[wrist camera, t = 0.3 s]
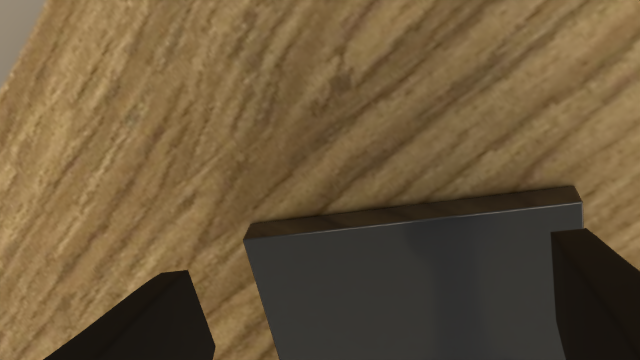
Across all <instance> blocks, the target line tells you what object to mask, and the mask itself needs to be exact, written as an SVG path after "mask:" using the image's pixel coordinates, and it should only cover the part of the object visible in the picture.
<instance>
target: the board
mask: <svg viewBox="0 0 640 360" xmlns="http://www.w3.org/2000/svg"><path fill="white" fill-rule="evenodd" d="M583 228H584V222H583V202H582V200H581V198H580V196H579V194H578V192H577V190H576V188H575V187H574V186H570V187H561V188H553V189H544V190H536V191H527V192H519V193H510V194H502V195H493V196H485V197H476V198H468V199H459V200H451V201H442V202H434V203H425V204H417V205H408V206H400V207H391V208H383V209H374V210H366V211H357V212H349V213H340V214H332V215H323V216H315V217H306V218H298V219H289V220H281V221H273V222H264V223H256V224H250V226H249V228H248V230H247V232H246V234H245V236H244V238H243V242H244V246H245V249H246V252H247V255H248V259H249V262H250V265H251V268H252V271H253V275H254V278H255V281H256V284H257V288H258V291H259V294H260V297H261V301H262V304H263V307H264V310H265V314H266V317H267V320H268V323H269V327H270V330H271V333H272V336H273V340H274V343H275V346H276V349H277V352H278V356H279V359H280V360H566V358H565V354H564V351H563V347H562V343H561V339H560V335H559V331H558V327H557V323H556V313H555V297H554V281H553V265H552V249H551V233H550V232H554V231H564V230H573V229H583Z"/></svg>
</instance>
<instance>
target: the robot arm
mask: <svg viewBox="0 0 640 360" xmlns="http://www.w3.org/2000/svg"><path fill="white" fill-rule="evenodd" d="M550 233H551V249H552V265H553V281H554V297H555V313H556V323H557V327H558V331H559V335H560V339H561V343H562V347H563V351H564V354H565V358H566V360H640V271H639V270H637V269H636V268H635V267H633V266H632V265H631V264H630V263H628V262H627V261H626V260H625V259H623V258H622V257H621V256H620V255H619V254H617V253H616V252H615V251H614V250H612V249H611V248H610V247H609V246H608V245H606V244H605V243H604V242H603V241H602V240H600V239H599V238H598V237H597V236H595V235H594V234H593V233H592V232H590V231H589V230H588V229H586V228H583V229H573V230H564V231H554V232H550ZM215 347H216V346H215V343H214V341H213V338H212V335H211V332H210V330H209V327H208V324H207V321H206V319H205V316H204V313H203V310H202V308H201V305H200V302H199V299H198V297H197V294H196V291H195V288H194V286H193V283H192V280H191V277H190V275H189V272H188V270H184V271H174V272H165V273H160V274H159V275H157V276H156V277H154V278H152V279H151V280H149V281H148V282H146V283H145V284H144V285H142V286H141V287H140V288H138V289H137V290H136V291H134V292H133V293H132V294H130V295H129V296H128V297H126V298H125V299H124V300H122V301H121V302H120V303H118V304H117V305H116V306H115V307H113V308H112V309H111V310H109V311H108V312H107V313H106V314H104V315H103V316H102V317H100V318H99V319H98V320H96V321H95V322H94V323H93V324H91V325H90V326H89V327H87V328H86V329H85V330H83V331H82V332H81V333H79V334H78V335H77V336H75V337H74V338H73V339H71V340H70V341H68V342H67V343H66V344H64V345H63V346H61V347H60V348H59V349H57V350H56V351H55V352H53V353H52V354H50V355H49V356H48V357H46V358H45V359H43V360H213V356H214V351H215Z"/></svg>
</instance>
